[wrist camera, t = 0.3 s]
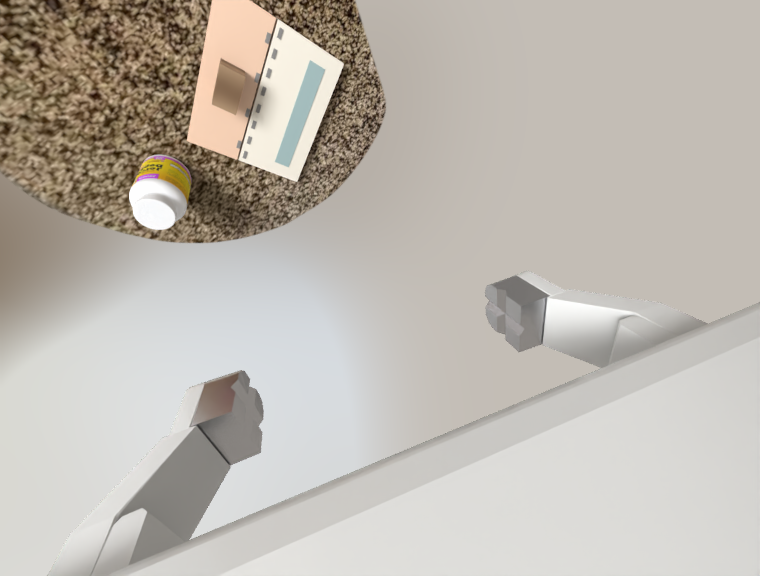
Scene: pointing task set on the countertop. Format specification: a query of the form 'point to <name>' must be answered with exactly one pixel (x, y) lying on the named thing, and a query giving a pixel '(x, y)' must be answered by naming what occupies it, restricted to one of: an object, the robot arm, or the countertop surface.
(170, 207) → the supplement bottle
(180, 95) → the countertop surface
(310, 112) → the ticket
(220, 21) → the ticket stub
